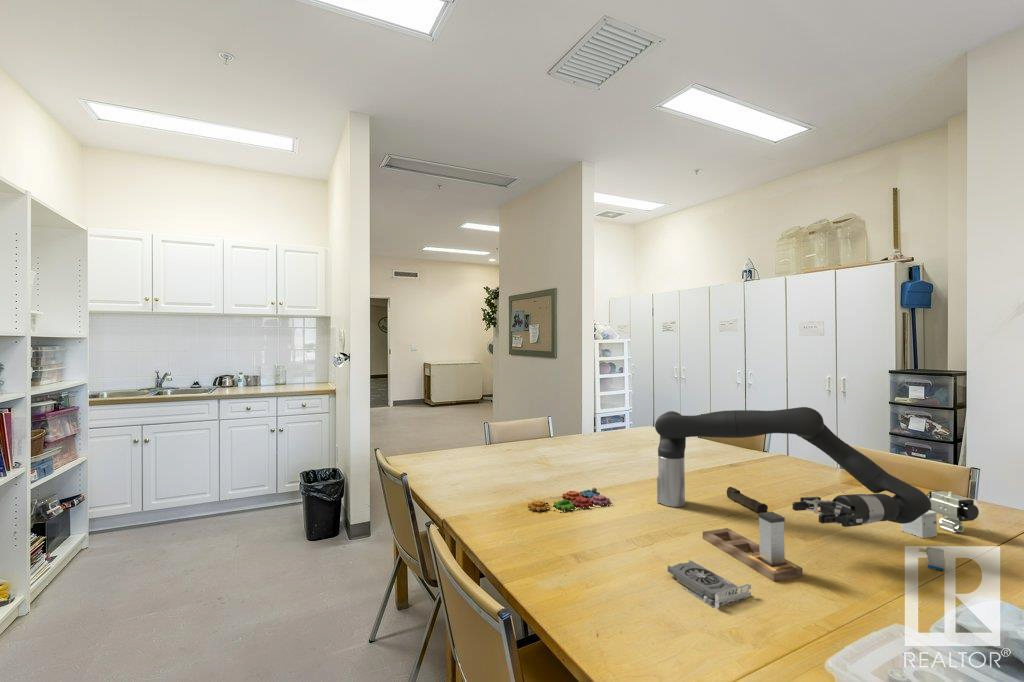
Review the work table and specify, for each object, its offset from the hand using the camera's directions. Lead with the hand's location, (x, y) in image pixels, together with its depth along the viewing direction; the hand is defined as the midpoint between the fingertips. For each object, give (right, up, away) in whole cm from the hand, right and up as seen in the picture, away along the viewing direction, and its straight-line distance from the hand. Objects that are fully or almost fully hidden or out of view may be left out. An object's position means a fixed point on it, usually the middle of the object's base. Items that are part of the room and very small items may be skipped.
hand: (806, 512), depth 121 cm
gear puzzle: (-58, -15, +48) cm, 76 cm away
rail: (-13, -14, +5) cm, 20 cm away
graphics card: (-31, -15, -10) cm, 35 cm away
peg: (-10, -14, -2) cm, 17 cm away
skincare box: (+46, -14, +18) cm, 52 cm away
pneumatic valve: (+57, -13, +20) cm, 62 cm away
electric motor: (+31, -14, -2) cm, 34 cm away
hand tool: (+5, -14, +44) cm, 46 cm away
